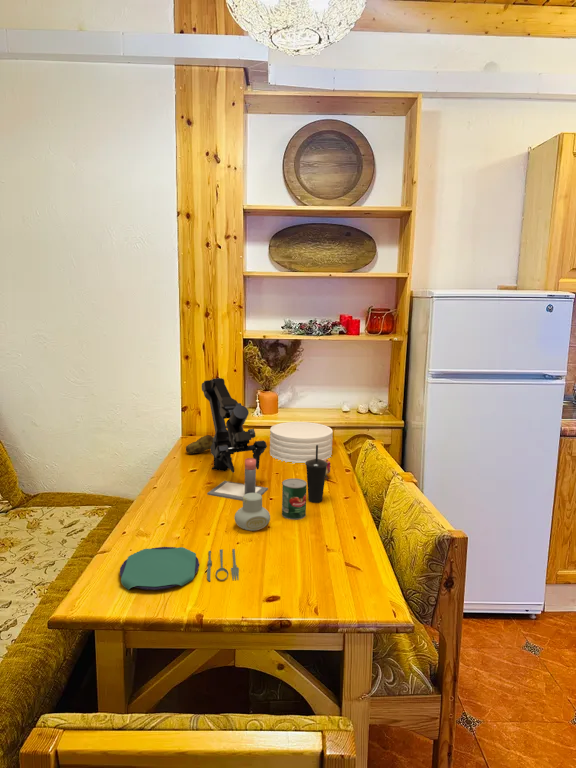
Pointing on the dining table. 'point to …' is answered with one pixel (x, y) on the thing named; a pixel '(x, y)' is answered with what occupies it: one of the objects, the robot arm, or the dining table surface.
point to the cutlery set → (165, 568)
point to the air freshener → (252, 513)
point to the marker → (250, 475)
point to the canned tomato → (294, 499)
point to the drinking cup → (316, 478)
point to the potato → (200, 445)
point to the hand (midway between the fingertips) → (246, 470)
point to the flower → (327, 468)
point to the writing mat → (233, 490)
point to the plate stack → (300, 441)
